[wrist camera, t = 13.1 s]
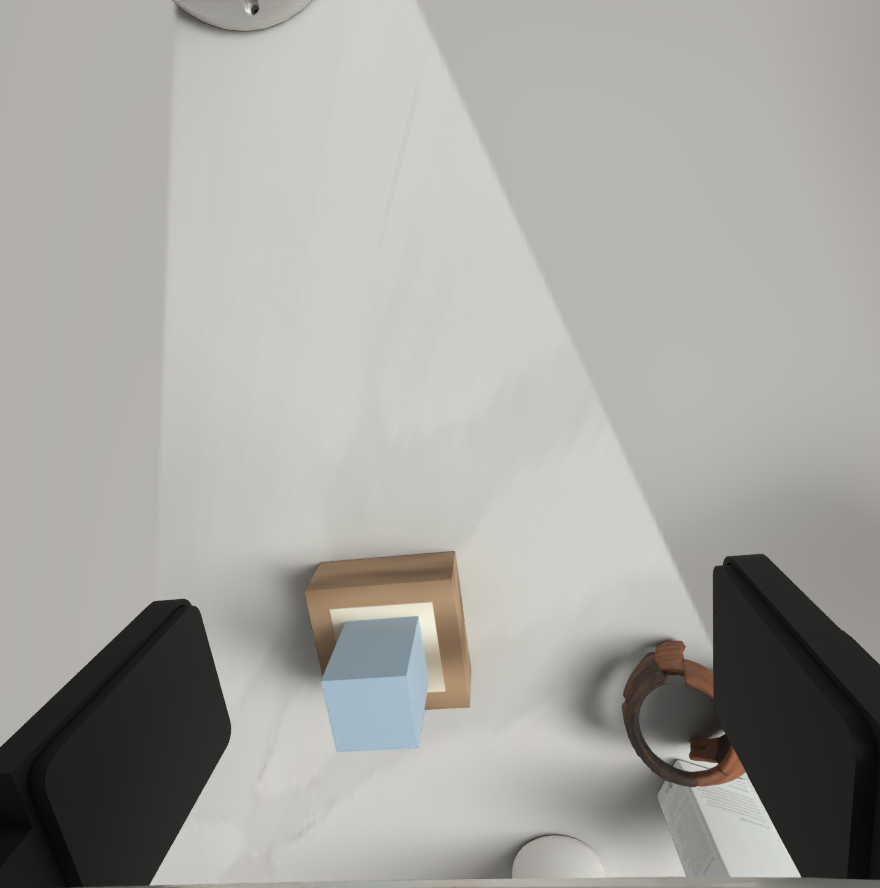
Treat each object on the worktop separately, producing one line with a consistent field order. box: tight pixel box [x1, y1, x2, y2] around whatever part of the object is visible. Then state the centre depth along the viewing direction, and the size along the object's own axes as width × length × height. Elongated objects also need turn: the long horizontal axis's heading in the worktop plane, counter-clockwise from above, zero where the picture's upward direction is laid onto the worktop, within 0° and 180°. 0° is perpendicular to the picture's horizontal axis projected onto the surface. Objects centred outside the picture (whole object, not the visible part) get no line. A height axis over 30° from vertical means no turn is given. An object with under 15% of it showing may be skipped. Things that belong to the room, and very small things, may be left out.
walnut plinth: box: [304, 551, 471, 710], centre depth 41 cm, size 10×10×4 cm
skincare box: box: [658, 760, 801, 877], centre depth 39 cm, size 6×4×12 cm
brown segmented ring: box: [622, 641, 746, 787], centre depth 40 cm, size 12×10×8 cm
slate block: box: [321, 616, 429, 752], centre depth 36 cm, size 5×5×6 cm
